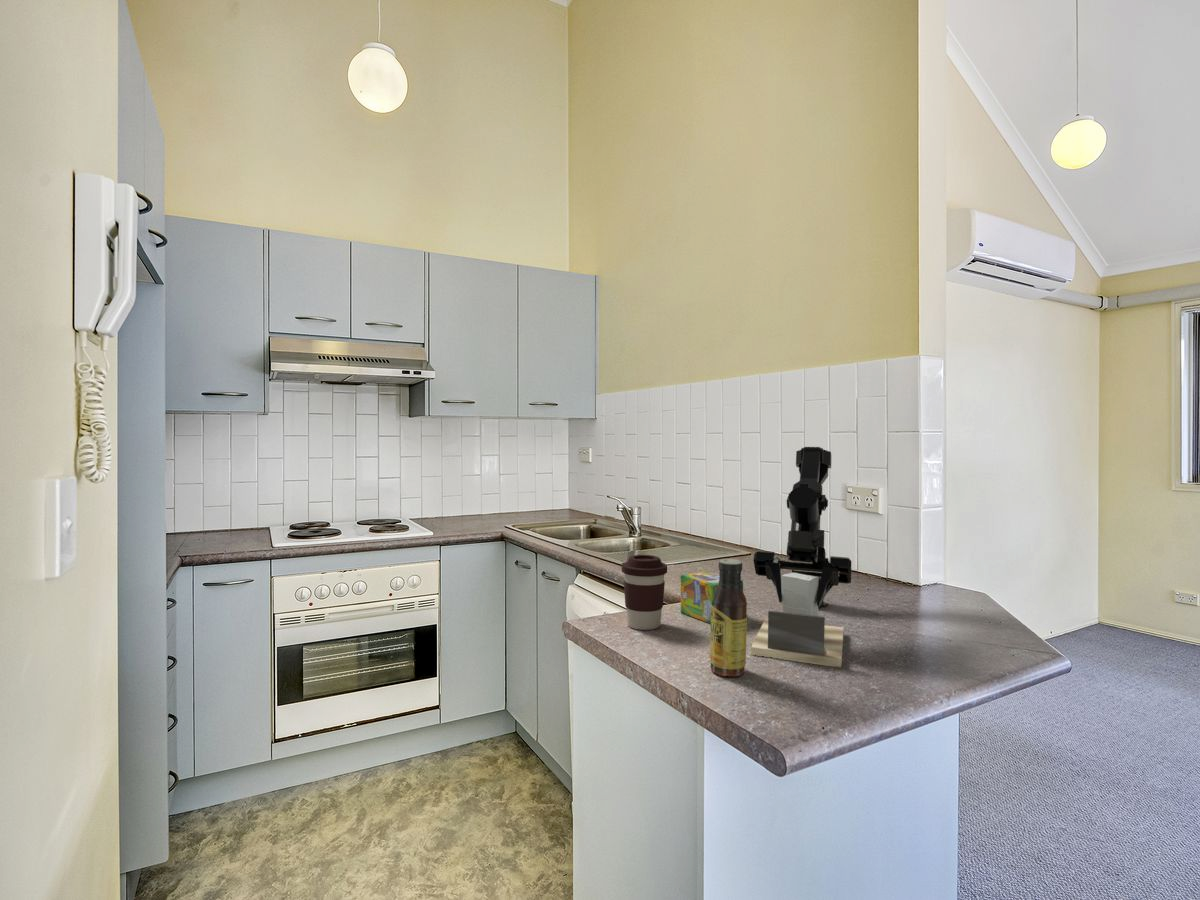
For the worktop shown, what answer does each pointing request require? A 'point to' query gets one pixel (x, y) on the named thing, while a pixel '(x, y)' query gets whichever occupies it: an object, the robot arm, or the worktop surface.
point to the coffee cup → (644, 591)
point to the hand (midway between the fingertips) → (798, 603)
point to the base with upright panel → (799, 639)
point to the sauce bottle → (728, 622)
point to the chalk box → (699, 594)
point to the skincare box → (799, 594)
